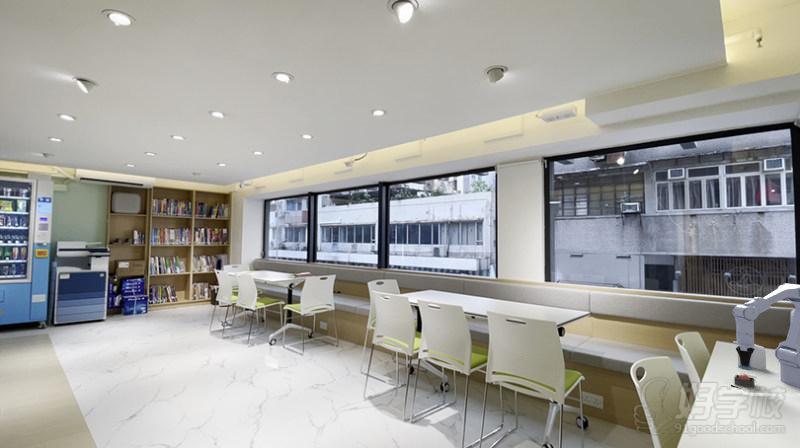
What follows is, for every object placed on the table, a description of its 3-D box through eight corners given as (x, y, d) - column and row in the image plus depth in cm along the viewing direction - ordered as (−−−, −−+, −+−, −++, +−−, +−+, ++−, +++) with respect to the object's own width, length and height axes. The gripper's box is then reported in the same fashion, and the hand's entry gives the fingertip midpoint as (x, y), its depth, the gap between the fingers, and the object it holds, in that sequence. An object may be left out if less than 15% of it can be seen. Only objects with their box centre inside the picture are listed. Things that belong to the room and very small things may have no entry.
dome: (738, 381, 161) (738, 372, 161) (751, 384, 158) (751, 375, 158) (737, 383, 158) (737, 374, 158) (750, 386, 155) (750, 377, 156)
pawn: (755, 370, 161) (755, 353, 161) (745, 370, 161) (745, 353, 161) (745, 366, 165) (745, 350, 166) (735, 366, 165) (735, 350, 166)
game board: (737, 373, 176) (737, 365, 176) (760, 378, 170) (760, 369, 170) (730, 386, 159) (730, 376, 159) (756, 392, 153) (756, 382, 153)
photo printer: (737, 367, 187) (736, 342, 188) (738, 365, 190) (738, 340, 190) (765, 372, 179) (765, 346, 180) (766, 371, 182) (766, 345, 182)
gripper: (734, 329, 172) (735, 359, 171) (730, 333, 162) (731, 365, 161) (755, 332, 166) (756, 363, 166) (753, 337, 157) (753, 370, 156)
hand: (745, 364), depth 163 cm, fingers closed on pawn, 3 cm apart
